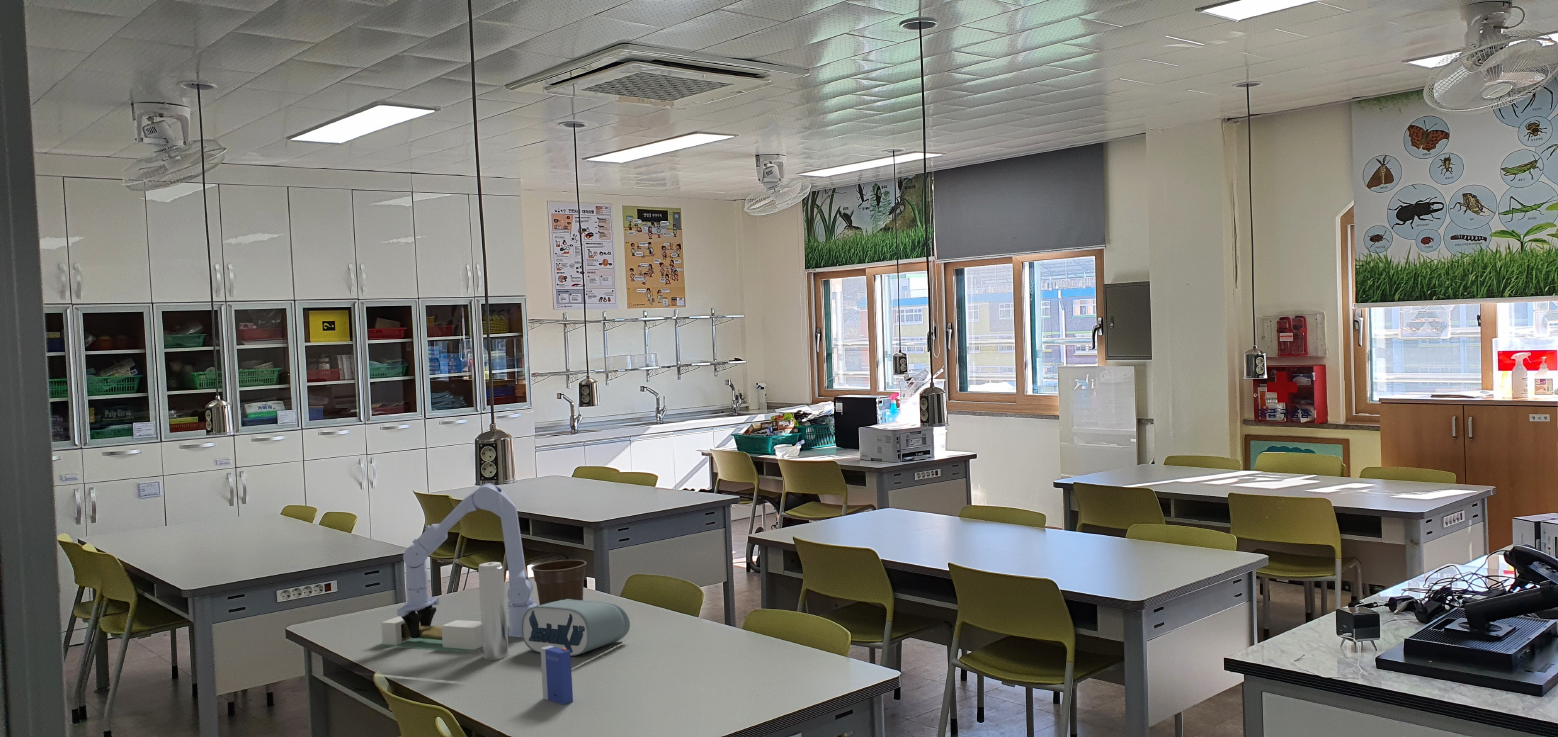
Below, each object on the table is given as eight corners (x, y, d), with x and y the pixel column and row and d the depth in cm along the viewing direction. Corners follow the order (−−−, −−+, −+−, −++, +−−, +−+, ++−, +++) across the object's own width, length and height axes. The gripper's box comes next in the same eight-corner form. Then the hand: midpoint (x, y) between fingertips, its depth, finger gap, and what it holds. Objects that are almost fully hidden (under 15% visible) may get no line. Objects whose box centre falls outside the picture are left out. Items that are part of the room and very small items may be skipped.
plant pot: (529, 616, 332) (526, 563, 331) (581, 608, 338) (578, 556, 338) (541, 628, 317) (537, 572, 317) (595, 619, 324) (592, 565, 323)
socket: (419, 636, 312) (418, 615, 312) (396, 644, 304) (395, 623, 304) (405, 635, 314) (404, 614, 314) (382, 643, 306) (381, 622, 306)
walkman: (573, 701, 248) (570, 648, 247) (563, 704, 246) (560, 651, 245) (552, 695, 253) (549, 643, 253) (542, 698, 251) (539, 646, 251)
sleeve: (489, 643, 300) (488, 621, 300) (474, 649, 295) (473, 627, 294) (458, 640, 305) (456, 619, 305) (442, 646, 299) (441, 625, 299)
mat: (496, 642, 303) (496, 640, 303) (468, 654, 292) (468, 652, 292) (406, 635, 316) (406, 633, 316) (376, 647, 305) (375, 645, 305)
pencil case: (521, 653, 290) (520, 604, 290) (567, 638, 307) (566, 592, 307) (588, 660, 280) (587, 610, 280) (632, 644, 296) (631, 596, 297)
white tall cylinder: (502, 661, 283) (496, 565, 283) (478, 661, 284) (473, 565, 284) (513, 654, 289) (507, 560, 289) (490, 654, 291) (484, 560, 290)
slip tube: (465, 639, 302) (464, 625, 302) (455, 643, 299) (455, 629, 299) (406, 635, 311) (405, 621, 310) (396, 638, 307) (395, 625, 307)
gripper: (424, 581, 314) (427, 628, 314) (387, 592, 301) (390, 641, 301) (443, 582, 311) (446, 629, 311) (407, 593, 298) (410, 643, 298)
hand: (420, 635), depth 306 cm, fingers closed on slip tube, 4 cm apart
